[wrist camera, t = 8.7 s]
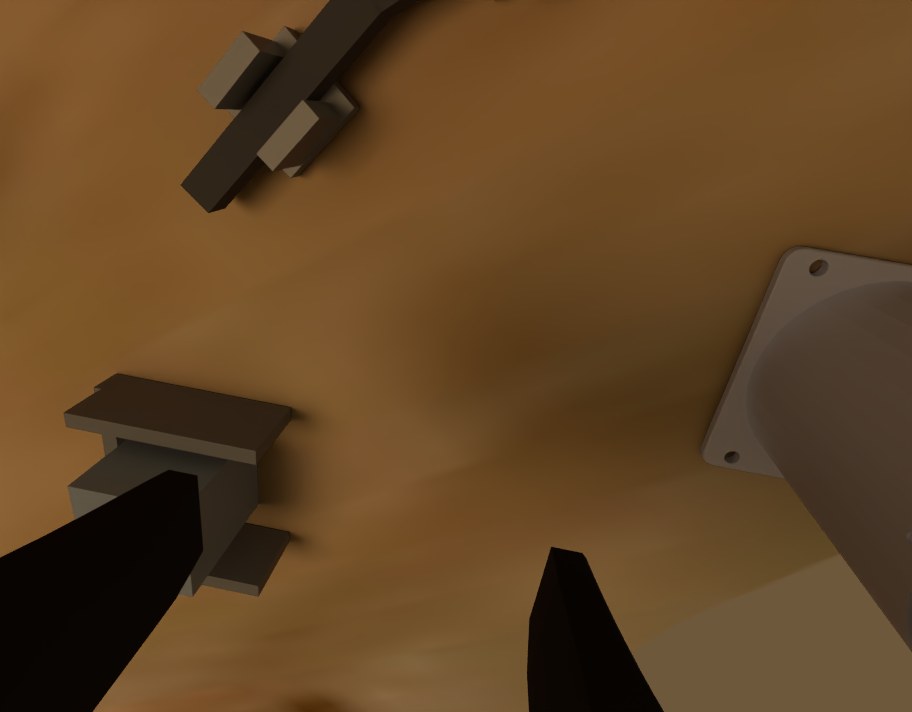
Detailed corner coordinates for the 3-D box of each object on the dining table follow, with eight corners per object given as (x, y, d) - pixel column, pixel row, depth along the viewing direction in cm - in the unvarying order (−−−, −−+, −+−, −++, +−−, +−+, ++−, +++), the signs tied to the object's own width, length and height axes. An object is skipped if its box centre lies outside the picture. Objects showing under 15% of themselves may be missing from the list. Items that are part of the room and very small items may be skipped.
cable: (671, -299, 11) (684, -337, 10) (712, -192, 12) (728, -218, 11) (176, 152, 16) (155, 154, 16) (222, 210, 17) (205, 215, 16)
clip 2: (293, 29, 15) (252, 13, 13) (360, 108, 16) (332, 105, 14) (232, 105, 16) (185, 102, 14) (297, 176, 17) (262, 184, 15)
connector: (256, 428, 21) (172, 522, 16) (258, 503, 23) (182, 610, 18) (163, 410, 22) (52, 498, 17) (172, 486, 23) (73, 587, 18)
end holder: (290, 407, 21) (255, 451, 18) (288, 542, 24) (258, 596, 21) (116, 373, 21) (55, 411, 18) (136, 510, 24) (86, 560, 21)
